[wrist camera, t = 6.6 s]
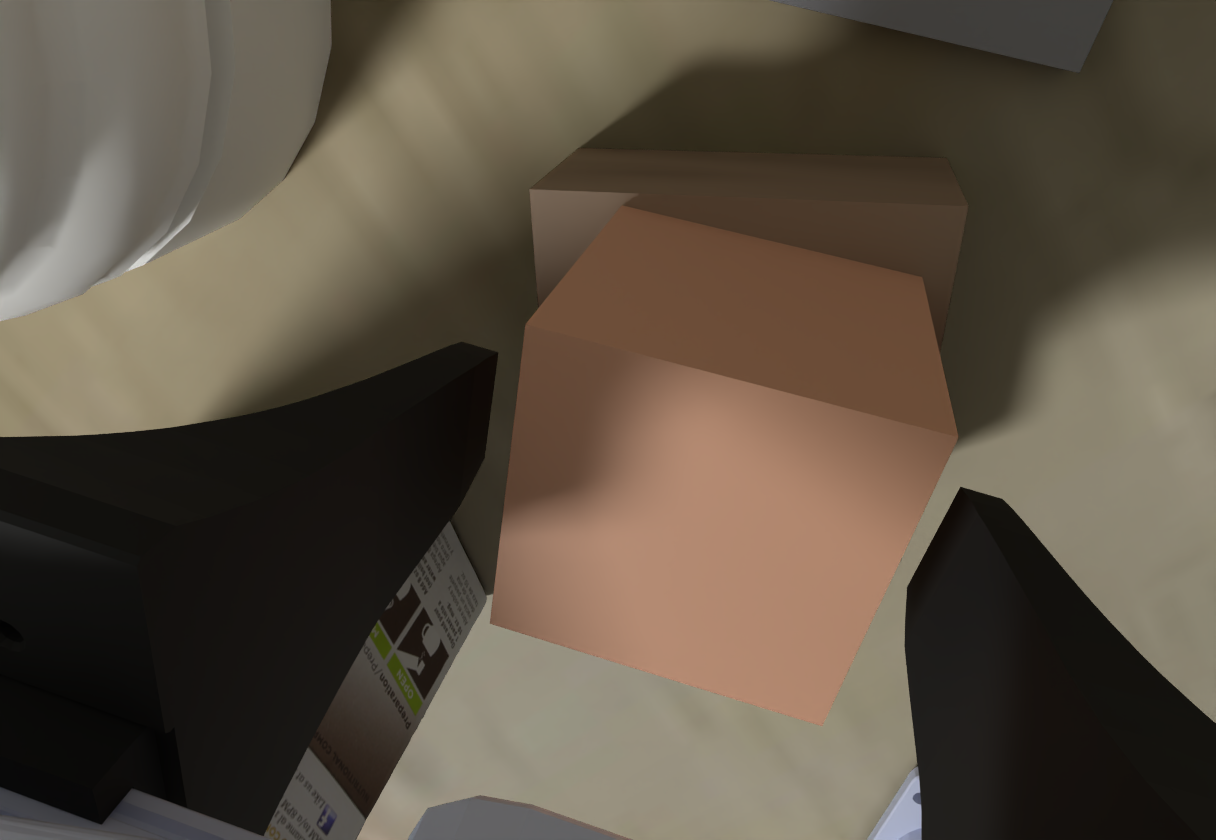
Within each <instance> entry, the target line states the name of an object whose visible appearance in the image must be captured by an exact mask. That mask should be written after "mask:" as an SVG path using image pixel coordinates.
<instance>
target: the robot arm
mask: <svg viewBox="0 0 1216 840" xmlns="http://www.w3.org/2000/svg"><path fill="white" fill-rule="evenodd" d="M497 358H498V352H495V351H492V350H488V349H485V348H481V347H478V346H475V345H471V344H468V343H464V342H460V343H457V344H453V345H451V346H448V347H445V348H443V349H440V350H438V351H435V352H433V353H430V354H428V355H425V356H423V357H421V358H418V359H416V360H413V361H411V362H409V363H406V364H404V365H401V366H399V367H396V368H394V369H391V370H389V371H386V372H384V373H381V374H379V375H376V376H374V377H371V378H368V379H366V380H363V381H360V382H357V383H354V384H351V385H348V386H345V387H342V388H340V389H337V390H334V391H331V392H328V393H325V394H322V395H319V396H316V397H313V398H310V399H307V400H303V401H300V402H296V403H293V404H289V405H285V406H282V407H277V408H273V409H269V410H265V411H261V412H257V413H252V414H248V415H243V416H238V417H233V418H227V419H221V420H215V421H209V422H203V423H197V424H191V425H185V426H179V427H172V428H164V429H154V430H145V431H136V432H124V433H111V434H98V435H80V436H38V437H0V840H272V839H269V838H266V837H264V834H265V832H266V830H267V828H268V826H269V824H270V822H271V820H272V818H273V815H274V813H275V811H276V809H277V807H278V805H279V803H280V801H281V799H282V797H283V795H284V793H285V791H286V789H287V787H288V785H289V783H290V782H291V780H292V778H293V776H294V774H295V772H296V770H297V768H298V766H299V764H300V762H301V760H302V758H303V756H304V754H305V752H306V750H307V748H308V746H309V744H310V742H311V740H312V738H313V736H314V735H315V733H316V731H317V729H318V727H319V725H320V723H321V722H322V720H323V718H324V716H325V714H326V712H327V710H328V709H329V707H330V705H331V703H332V701H333V699H334V697H335V696H336V694H337V692H338V690H339V688H340V686H341V684H342V683H343V681H344V679H345V677H346V675H347V674H348V672H349V670H350V668H351V667H352V665H353V663H354V661H355V659H356V658H357V656H358V654H359V652H360V651H361V649H362V647H363V645H364V644H365V642H366V640H367V638H368V636H369V635H370V633H371V631H372V629H373V628H374V626H375V625H376V623H377V622H378V620H379V619H380V617H381V616H382V614H383V613H384V611H385V609H386V608H387V606H388V605H389V604H390V602H391V601H392V599H393V598H394V597H395V595H396V594H397V593H398V591H399V590H400V588H401V587H402V586H403V584H404V583H405V581H406V580H407V579H408V577H409V576H410V575H411V573H412V572H413V570H414V569H415V568H416V566H417V565H418V564H419V562H420V561H421V559H422V558H423V557H424V555H425V554H426V552H427V551H428V550H429V548H430V547H431V546H432V544H433V543H434V541H435V540H436V539H437V537H438V536H439V534H440V533H441V532H442V530H443V529H444V527H445V526H446V525H447V523H448V522H449V520H450V519H451V518H452V516H453V515H454V513H455V512H456V510H457V509H458V507H459V506H460V504H461V502H462V500H463V499H464V497H465V495H466V493H467V491H468V489H469V487H470V486H471V484H472V482H473V480H474V478H475V476H476V474H477V472H478V470H479V468H480V466H481V464H482V462H483V460H484V458H485V451H486V443H487V435H488V428H489V420H490V412H491V404H492V397H493V389H494V381H495V374H496V366H497ZM905 654H906V665H907V674H908V684H909V694H910V702H911V711H912V720H913V728H914V737H915V746H916V755H917V764H918V767H915V768H914V769H913V770H912V771H911V772H910V773H909V775H908V777H907V778H906V780H905V781H904V783H903V784H902V786H901V787H900V789H899V790H898V792H897V794H896V795H895V797H894V798H893V800H892V801H891V803H890V804H889V806H888V808H887V809H886V811H885V812H884V814H883V815H882V817H881V818H880V820H879V821H878V823H877V825H876V826H875V828H874V829H873V831H872V832H871V834H870V835H869V837H868V839H867V840H1216V723H1215V722H1213V721H1212V720H1211V719H1210V718H1209V717H1208V716H1206V715H1205V714H1204V713H1203V712H1202V711H1201V710H1200V709H1199V708H1197V707H1196V706H1195V705H1194V704H1193V703H1192V702H1191V701H1190V700H1189V699H1188V698H1187V697H1185V696H1184V695H1183V694H1182V693H1181V692H1180V691H1179V690H1178V689H1177V688H1176V687H1174V686H1173V685H1172V684H1171V683H1170V682H1169V681H1168V680H1167V679H1166V678H1165V677H1163V676H1162V675H1161V674H1160V673H1159V672H1158V671H1157V670H1156V669H1155V668H1154V667H1153V666H1152V665H1151V664H1150V663H1149V662H1148V661H1147V660H1146V659H1145V658H1144V657H1143V656H1142V655H1141V654H1140V653H1139V652H1138V651H1137V650H1136V649H1135V648H1134V647H1133V646H1132V645H1131V643H1130V642H1129V641H1128V640H1127V639H1126V638H1125V637H1124V636H1123V635H1122V634H1121V633H1120V632H1119V631H1118V630H1117V629H1116V628H1115V627H1114V626H1113V625H1112V624H1111V623H1110V621H1109V620H1108V619H1107V618H1106V617H1105V616H1104V615H1103V614H1102V613H1101V612H1100V610H1099V609H1098V608H1097V607H1096V606H1095V605H1094V604H1093V603H1092V602H1091V600H1090V599H1089V598H1088V597H1087V596H1086V595H1085V594H1084V592H1083V591H1082V590H1081V589H1080V588H1079V587H1078V585H1077V584H1076V583H1075V582H1074V581H1073V580H1072V578H1071V577H1070V576H1069V575H1068V574H1067V573H1066V571H1065V570H1064V569H1063V568H1062V567H1061V565H1060V564H1059V563H1058V562H1057V561H1056V560H1055V558H1054V557H1053V556H1052V555H1051V554H1050V552H1049V551H1048V550H1047V549H1046V548H1045V546H1044V545H1043V544H1042V543H1041V542H1040V540H1039V539H1038V538H1037V537H1036V536H1035V534H1034V533H1033V532H1032V531H1031V530H1030V528H1029V527H1028V526H1027V525H1026V524H1025V523H1024V521H1023V520H1022V519H1021V518H1020V517H1019V516H1018V515H1017V513H1016V512H1015V511H1014V510H1013V509H1012V508H1011V507H1010V506H1009V505H1008V504H1007V503H1006V502H1005V501H1004V500H1003V499H1001V498H997V497H994V496H990V495H987V494H983V493H980V492H976V491H973V490H970V489H966V488H963V487H960V489H959V491H958V493H957V494H956V496H955V498H954V500H953V502H952V504H951V506H950V508H949V509H948V511H947V513H946V515H945V517H944V519H943V521H942V523H941V525H940V526H939V528H938V530H937V532H936V534H935V536H934V538H933V540H932V541H931V543H930V545H929V547H928V549H927V551H926V553H925V555H924V556H923V558H922V560H921V562H920V564H919V566H918V568H917V570H916V571H915V573H914V575H913V577H912V579H911V581H910V583H909V585H908V586H907V599H906V617H905ZM408 840H632V839H629V838H626V837H623V836H620V835H617V834H614V833H612V832H609V831H606V830H603V829H600V828H597V827H594V826H592V825H589V824H586V823H583V822H580V821H577V820H574V819H572V818H569V817H566V816H563V815H560V814H557V813H554V812H552V811H549V810H546V809H543V808H540V807H537V806H534V805H531V804H525V803H520V802H514V801H509V800H503V799H498V798H492V797H487V796H481V795H480V796H475V797H471V798H467V799H463V800H459V801H454V802H450V803H446V804H442V805H438V806H434V807H431V808H428V809H427V810H426V812H425V813H424V815H423V816H422V818H421V819H420V821H419V822H418V824H417V825H416V827H415V828H414V830H413V831H412V833H411V834H410V836H409V838H408Z"/></svg>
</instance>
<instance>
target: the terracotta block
mask: <svg viewBox="0 0 1216 840" xmlns="http://www.w3.org/2000/svg"><path fill="white" fill-rule="evenodd" d="M958 438H959V437H958V432H957V428H956V423H955V419H954V415H953V410H952V406H951V401H950V397H949V393H948V388H947V384H946V379H945V375H944V370H943V366H942V362H941V357H940V353H939V348H938V344H937V339H936V335H935V331H934V326H933V322H932V317H931V313H930V309H929V304H928V300H927V295H926V291H925V286H924V282H923V278H922V277H920V276H915V275H911V274H907V273H903V272H899V271H895V270H890V269H886V268H882V267H878V266H874V265H870V264H865V263H861V262H857V261H853V260H849V259H845V258H840V257H836V256H832V255H828V254H824V253H819V252H815V251H811V250H807V249H803V248H799V247H794V246H790V245H786V244H782V243H778V242H773V241H769V240H765V239H761V238H757V237H753V236H748V235H744V234H740V233H736V232H732V231H727V230H723V229H719V228H715V227H711V226H706V225H702V224H698V223H694V222H690V221H686V220H681V219H677V218H673V217H669V216H665V215H660V214H656V213H652V212H648V211H644V210H640V209H635V208H631V207H627V206H623V205H622V206H621V207H620V208H619V209H618V211H617V212H616V213H615V214H614V216H613V217H612V218H611V219H610V221H609V222H608V223H607V224H606V225H605V227H604V228H603V229H602V230H601V232H600V233H599V234H598V235H597V237H596V238H595V239H594V240H593V241H592V243H591V244H590V245H589V246H588V248H587V249H586V250H585V251H584V253H583V254H582V255H581V256H580V258H579V259H578V260H577V261H576V262H575V264H574V265H573V266H572V267H571V269H570V270H569V271H568V272H567V274H566V275H565V276H564V277H563V278H562V280H561V281H560V282H559V283H558V285H557V286H556V287H555V288H554V290H553V291H552V292H551V293H550V295H549V296H548V297H547V298H546V299H545V301H544V302H543V303H542V304H541V306H540V307H539V308H538V309H537V311H536V312H535V313H534V314H533V315H532V317H531V318H530V319H529V320H528V322H527V323H526V324H525V332H524V341H523V349H522V357H521V366H520V374H519V383H518V391H517V400H516V408H515V416H514V425H513V433H512V442H511V450H510V459H509V467H508V475H507V484H506V492H505V501H504V509H503V517H502V526H501V534H500V543H499V551H498V560H497V568H496V576H495V585H494V593H493V602H492V610H491V619H490V624H493V625H496V626H499V627H503V628H506V629H509V630H512V631H516V632H519V633H522V634H525V635H529V636H532V637H535V638H538V639H541V640H545V641H548V642H551V643H554V644H558V645H561V646H564V647H567V648H571V649H574V650H577V651H580V652H584V653H587V654H590V655H593V656H597V657H600V658H603V659H606V660H609V661H613V662H616V663H619V664H622V665H626V666H629V667H632V668H635V669H639V670H642V671H645V672H648V673H652V674H655V675H658V676H661V677H665V678H668V679H671V680H674V681H677V682H681V683H684V684H687V685H690V686H694V687H697V688H700V689H703V690H707V691H710V692H713V693H716V694H720V695H723V696H726V697H729V698H733V699H736V700H739V701H742V702H745V703H749V704H752V705H755V706H758V707H762V708H765V709H768V710H771V711H775V712H778V713H781V714H784V715H788V716H791V717H794V718H797V719H801V720H804V721H807V722H810V723H813V724H817V725H820V726H822V725H823V723H824V721H825V719H826V717H827V715H828V713H829V711H830V708H831V706H832V704H833V702H834V700H835V698H836V696H837V694H838V691H839V689H840V687H841V685H842V683H843V681H844V679H845V677H846V675H847V672H848V670H849V668H850V666H851V664H852V662H853V660H854V658H855V656H856V653H857V651H858V649H859V647H860V645H861V643H862V641H863V639H864V637H865V634H866V632H867V630H868V628H869V626H870V624H871V622H872V620H873V617H874V615H875V613H876V611H877V609H878V607H879V605H880V603H881V601H882V598H883V596H884V594H885V592H886V590H887V588H888V586H889V584H890V582H891V579H892V577H893V575H894V573H895V571H896V569H897V567H898V565H899V563H900V560H901V558H902V556H903V554H904V552H905V550H906V548H907V546H908V543H909V541H910V539H911V537H912V535H913V533H914V531H915V529H916V527H917V524H918V522H919V520H920V518H921V516H922V514H923V512H924V510H925V508H926V505H927V503H928V501H929V499H930V497H931V495H932V493H933V491H934V489H935V486H936V484H937V482H938V480H939V478H940V476H941V474H942V472H943V470H944V467H945V465H946V463H947V461H948V459H949V457H950V455H951V453H952V450H953V448H954V446H955V444H956V442H957V440H958Z"/></svg>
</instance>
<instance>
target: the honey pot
mask: <svg viewBox="0 0 1216 840" xmlns="http://www.w3.org/2000/svg"><path fill="white" fill-rule="evenodd" d="M331 46H332V38H331V0H0V321H3V320H7V319H12V318H16V317H21V316H25V315H28V314H31V313H33V312H36V311H39V310H41V309H44V308H47V307H49V306H52V305H55V304H57V303H60V302H63V301H66V300H68V299H71V298H74V297H76V296H79V295H82V294H84V293H85V292H86V291H87V290H88V289H90V288H91V287H92V286H95V285H98V284H100V283H103V282H106V281H109V280H111V279H114V278H117V277H119V276H121V275H122V274H123V273H124V272H126V271H129V270H131V269H134V268H137V267H139V266H142V265H145V264H147V263H149V262H151V261H153V260H155V259H157V258H159V257H161V256H163V255H165V254H168V253H170V252H172V251H174V250H176V249H178V248H180V247H182V246H184V245H186V244H188V243H191V242H193V241H195V240H197V239H199V238H201V237H203V236H205V235H207V234H209V233H211V232H213V231H216V230H218V229H220V228H222V227H224V226H226V225H228V224H230V223H232V222H234V221H236V220H238V219H240V218H241V217H243V216H244V215H245V214H246V213H247V212H248V211H249V210H250V209H251V208H253V207H254V206H255V205H256V204H257V203H258V202H259V201H260V200H262V199H263V198H264V197H265V196H266V195H267V194H268V193H269V192H271V191H272V190H273V189H274V188H275V187H276V186H277V185H278V184H279V183H281V182H282V181H283V180H284V178H285V176H286V174H287V172H288V170H289V169H290V167H291V165H292V163H293V161H294V159H295V158H296V156H297V154H298V152H299V150H300V149H301V147H302V145H303V143H304V141H305V139H306V138H307V136H308V134H309V132H310V130H311V128H312V127H313V125H314V123H315V120H316V115H317V110H318V106H319V101H320V97H321V92H322V87H323V83H324V78H325V74H326V69H327V65H328V60H329V55H330V51H331Z"/></svg>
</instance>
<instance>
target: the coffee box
mask: <svg viewBox="0 0 1216 840" xmlns="http://www.w3.org/2000/svg"><path fill="white" fill-rule="evenodd" d="M486 600H487V598H486V595H485V592H484V590H483V588H482V586H481V584H480V582H479V580H478V578H477V576H476V573H475V571H474V569H473V567H472V565H471V563H470V561H469V559H468V557H467V555H466V553H465V551H464V549H463V547H462V545H461V543H460V541H459V539H458V537H457V535H456V533H455V531H454V529H453V527H452V525H451V523H450V520H449V522H448V523H447V525H446V526H445V527H444V529H443V530H442V532H441V533H440V534H439V536H438V537H437V539H436V540H435V541H434V543H433V544H432V546H431V547H430V548H429V550H428V551H427V552H426V554H425V555H424V557H423V558H422V559H421V561H420V562H419V564H418V565H417V566H416V568H415V569H414V570H413V572H412V573H411V575H410V576H409V577H408V579H407V580H406V581H405V583H404V584H403V586H402V587H401V588H400V590H399V591H398V593H397V594H396V595H395V597H394V598H393V599H392V601H391V602H390V604H389V605H388V606H387V608H386V609H385V611H384V613H383V614H382V616H381V617H380V619H379V620H378V622H377V623H376V625H375V626H374V628H373V629H372V631H371V633H370V635H369V636H368V638H367V640H366V642H365V644H364V645H363V647H362V649H361V651H360V652H359V654H358V656H357V658H356V659H355V661H354V663H353V665H352V667H351V668H350V670H349V672H348V674H347V675H346V677H345V679H344V681H343V683H342V684H341V686H340V688H339V690H338V692H337V694H336V696H335V697H334V699H333V701H332V703H331V705H330V707H329V709H328V710H327V712H326V714H325V716H324V718H323V720H322V722H321V723H320V725H319V727H318V729H317V731H316V733H315V735H314V736H313V738H312V740H311V742H310V744H309V746H308V748H307V750H306V752H305V754H304V756H303V758H302V760H301V762H300V764H299V766H298V768H297V770H296V772H295V774H294V776H293V778H292V780H291V782H290V783H289V785H288V787H287V789H286V791H285V793H284V795H283V797H282V799H281V801H280V803H279V805H278V807H277V809H276V811H275V813H274V815H273V818H272V820H271V822H270V824H269V826H268V828H267V830H266V832H265V834H264V837H266V838H269V839H272V840H356V839H357V837H358V835H359V833H360V831H361V829H362V827H363V825H364V823H365V821H366V819H367V817H368V815H369V814H370V812H371V810H372V809H373V807H374V805H375V803H376V802H377V800H378V798H379V796H380V794H381V792H382V790H383V789H384V787H385V785H386V783H387V782H388V780H389V778H390V776H391V774H392V772H393V770H394V769H395V767H396V765H397V763H398V761H399V760H400V758H401V756H402V754H403V752H404V751H405V749H406V747H407V745H408V744H409V742H410V740H411V737H412V735H413V734H414V732H415V731H416V729H417V727H418V725H419V723H420V721H421V719H422V718H423V717H424V715H425V713H426V710H427V709H428V707H429V705H430V703H431V701H432V699H433V697H434V695H435V694H436V692H437V690H438V688H439V687H440V685H441V683H442V681H443V679H444V677H445V675H446V674H447V672H448V670H449V668H450V667H451V665H452V663H453V661H454V659H455V657H456V655H457V654H458V652H459V650H460V648H461V647H462V645H463V643H464V641H465V640H466V638H467V636H468V634H469V632H470V630H471V628H472V626H473V625H474V623H475V621H476V620H477V618H478V616H479V615H480V613H481V611H482V609H483V607H484V605H485V603H486Z"/></svg>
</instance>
